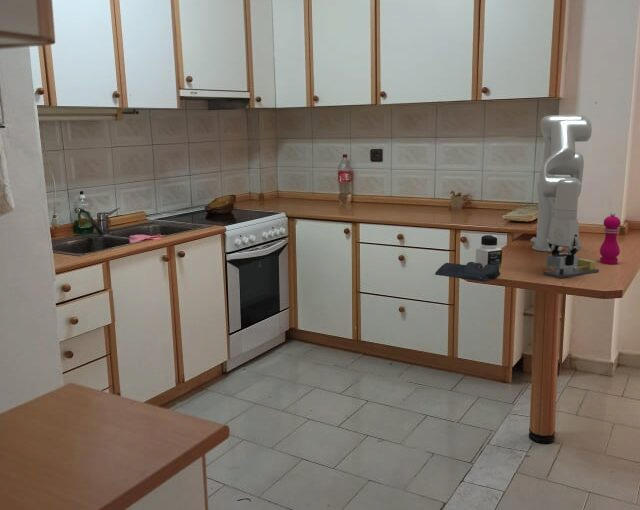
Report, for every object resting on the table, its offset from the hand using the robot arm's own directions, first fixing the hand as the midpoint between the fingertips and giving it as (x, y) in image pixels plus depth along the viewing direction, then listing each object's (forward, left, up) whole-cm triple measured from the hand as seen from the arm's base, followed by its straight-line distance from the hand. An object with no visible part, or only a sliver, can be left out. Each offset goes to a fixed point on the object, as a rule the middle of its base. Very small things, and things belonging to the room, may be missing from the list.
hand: (562, 263), depth 233 cm
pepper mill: (-5, +32, -5) cm, 33 cm away
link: (0, 0, -1) cm, 1 cm away
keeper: (0, +5, -4) cm, 7 cm away
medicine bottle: (-24, -13, -5) cm, 28 cm away
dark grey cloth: (-18, -29, -5) cm, 34 cm away
